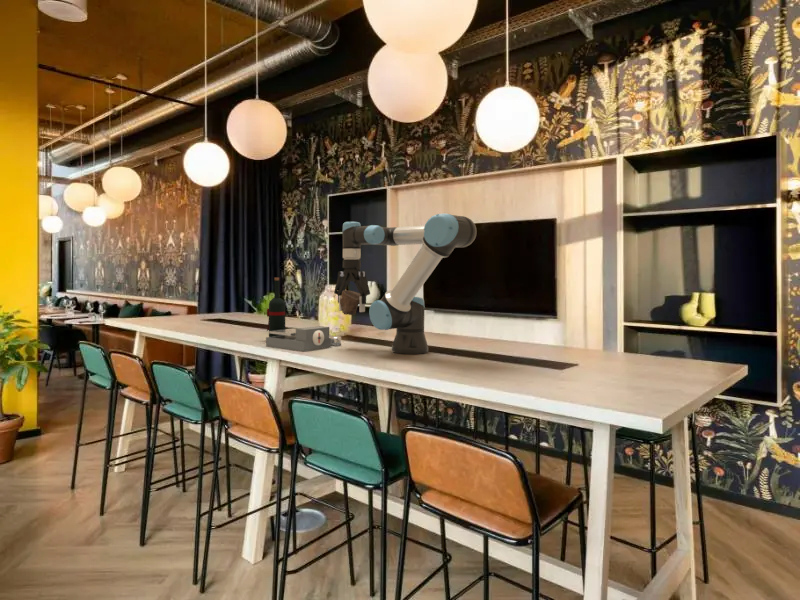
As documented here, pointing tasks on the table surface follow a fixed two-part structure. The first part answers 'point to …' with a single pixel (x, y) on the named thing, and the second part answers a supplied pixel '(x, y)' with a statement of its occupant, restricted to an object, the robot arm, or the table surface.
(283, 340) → the scale base
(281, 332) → the pan
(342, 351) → the table surface
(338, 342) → the spacer
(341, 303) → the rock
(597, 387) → the table surface
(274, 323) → the wine bottle
